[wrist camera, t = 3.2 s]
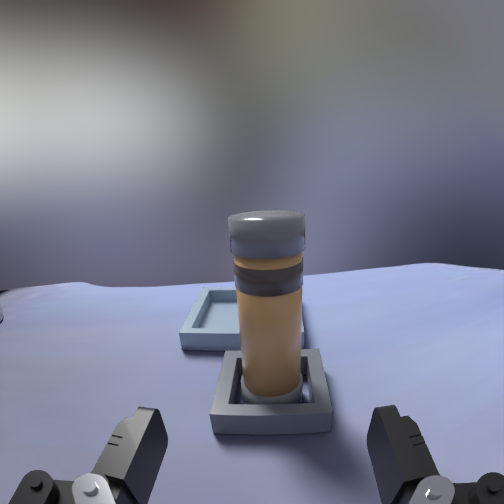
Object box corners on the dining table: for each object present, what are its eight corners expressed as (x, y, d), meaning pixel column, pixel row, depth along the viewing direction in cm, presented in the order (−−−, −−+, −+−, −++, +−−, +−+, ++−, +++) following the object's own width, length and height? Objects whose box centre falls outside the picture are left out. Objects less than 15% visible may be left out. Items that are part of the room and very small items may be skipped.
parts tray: (182, 349, 30) (179, 332, 29) (205, 301, 42) (203, 287, 41) (303, 349, 29) (304, 331, 29) (295, 299, 41) (295, 285, 40)
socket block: (213, 433, 19) (209, 414, 18) (227, 368, 27) (225, 350, 26) (329, 431, 18) (332, 412, 18) (317, 366, 26) (319, 348, 26)
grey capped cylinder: (239, 418, 21) (222, 224, 17) (245, 380, 25) (233, 212, 21) (303, 417, 20) (309, 221, 17) (299, 379, 25) (301, 209, 21)
